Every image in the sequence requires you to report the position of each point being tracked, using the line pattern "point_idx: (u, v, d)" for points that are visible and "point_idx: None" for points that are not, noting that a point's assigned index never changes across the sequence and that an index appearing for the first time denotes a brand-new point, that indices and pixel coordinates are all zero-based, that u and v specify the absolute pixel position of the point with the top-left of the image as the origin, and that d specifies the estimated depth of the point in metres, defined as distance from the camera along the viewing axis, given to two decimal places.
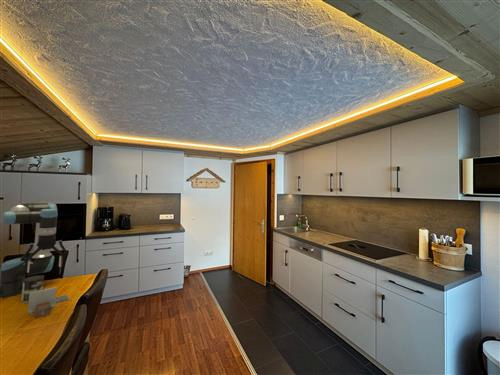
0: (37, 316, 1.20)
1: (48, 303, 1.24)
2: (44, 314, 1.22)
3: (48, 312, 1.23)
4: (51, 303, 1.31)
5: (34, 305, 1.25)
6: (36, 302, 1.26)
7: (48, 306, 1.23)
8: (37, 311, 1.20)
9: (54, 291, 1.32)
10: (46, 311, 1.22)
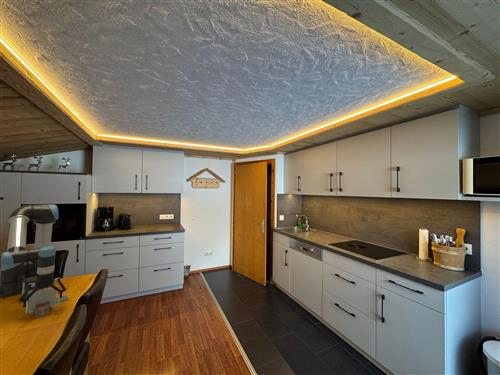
0: (37, 316, 1.20)
1: (48, 303, 1.24)
2: (44, 314, 1.22)
3: (48, 312, 1.23)
4: (51, 303, 1.31)
5: (34, 305, 1.25)
6: (36, 302, 1.26)
7: (48, 306, 1.23)
8: (37, 311, 1.20)
9: (54, 291, 1.32)
10: (46, 311, 1.22)
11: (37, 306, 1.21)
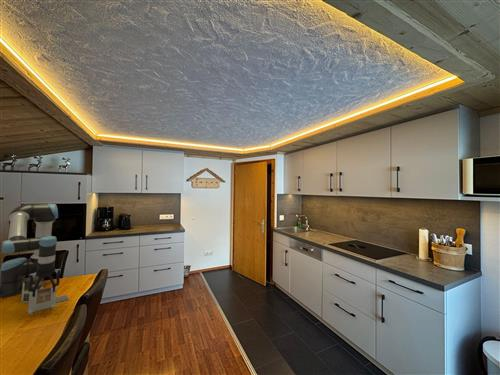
0: (38, 302, 1.20)
1: (49, 290, 1.25)
2: (45, 300, 1.22)
3: (49, 298, 1.24)
4: (51, 303, 1.31)
5: (34, 305, 1.25)
6: None
7: (49, 292, 1.24)
8: (38, 297, 1.20)
9: None
10: (47, 297, 1.23)
11: (38, 292, 1.22)
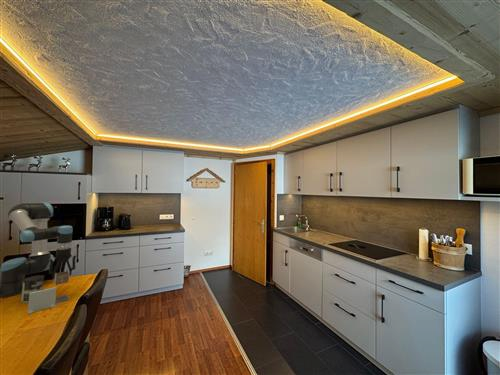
0: (57, 283, 1.36)
1: (66, 273, 1.41)
2: (63, 282, 1.38)
3: (67, 280, 1.39)
4: (51, 303, 1.31)
5: (34, 305, 1.25)
6: (36, 302, 1.26)
7: (67, 275, 1.39)
8: (57, 278, 1.36)
9: (54, 291, 1.32)
10: (65, 279, 1.39)
11: (57, 274, 1.37)
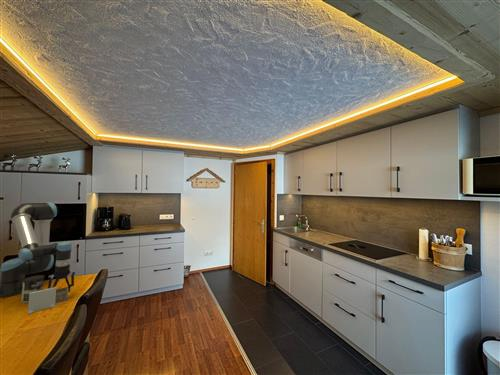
0: (56, 300, 1.36)
1: (65, 289, 1.40)
2: (62, 298, 1.38)
3: (65, 297, 1.39)
4: (51, 303, 1.31)
5: (34, 305, 1.25)
6: (36, 302, 1.26)
7: (65, 292, 1.39)
8: (56, 296, 1.36)
9: (54, 291, 1.32)
10: (63, 296, 1.38)
11: (56, 291, 1.37)
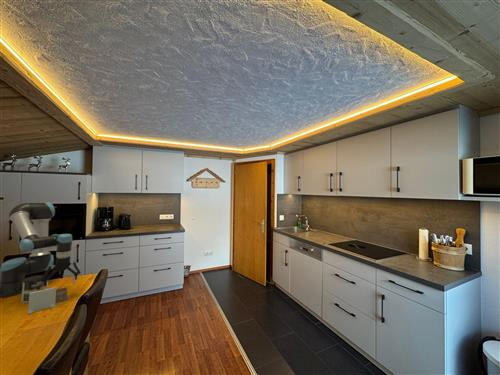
0: (56, 300, 1.36)
1: (65, 289, 1.40)
2: (62, 298, 1.38)
3: (65, 297, 1.39)
4: (51, 303, 1.31)
5: (34, 305, 1.25)
6: (36, 302, 1.26)
7: (65, 292, 1.39)
8: (56, 296, 1.36)
9: (54, 291, 1.32)
10: (63, 296, 1.38)
11: (56, 291, 1.37)
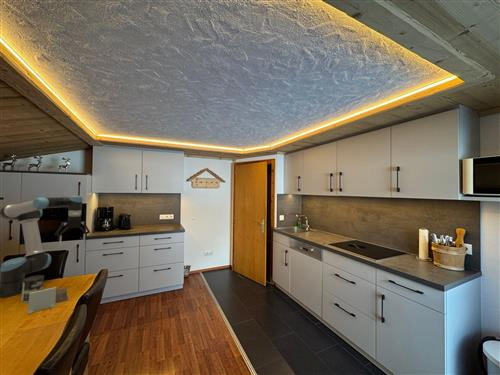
0: (56, 300, 1.36)
1: (65, 289, 1.40)
2: (62, 298, 1.38)
3: (65, 297, 1.39)
4: (51, 303, 1.31)
5: (34, 305, 1.25)
6: (36, 302, 1.26)
7: (65, 292, 1.39)
8: (56, 296, 1.36)
9: (54, 291, 1.32)
10: (63, 296, 1.38)
11: (56, 291, 1.37)
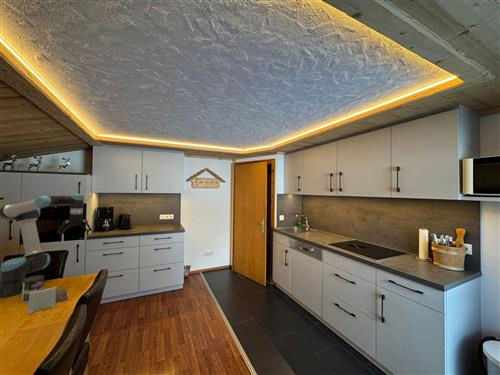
0: (56, 300, 1.36)
1: (65, 289, 1.40)
2: (62, 298, 1.38)
3: (65, 297, 1.39)
4: (51, 303, 1.31)
5: (34, 305, 1.25)
6: (36, 302, 1.26)
7: (65, 292, 1.39)
8: (56, 296, 1.36)
9: (54, 291, 1.32)
10: (63, 296, 1.38)
11: (56, 291, 1.37)
